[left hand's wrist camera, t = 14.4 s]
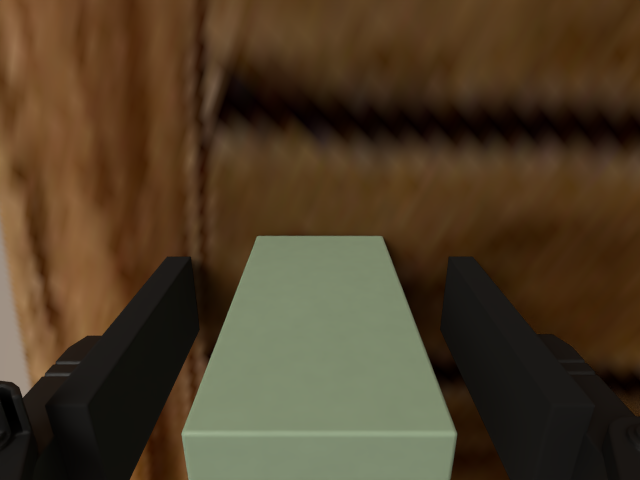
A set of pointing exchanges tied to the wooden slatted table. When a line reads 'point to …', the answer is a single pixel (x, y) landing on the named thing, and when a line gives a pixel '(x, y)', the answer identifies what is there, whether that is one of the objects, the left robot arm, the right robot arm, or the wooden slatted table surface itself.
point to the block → (319, 373)
